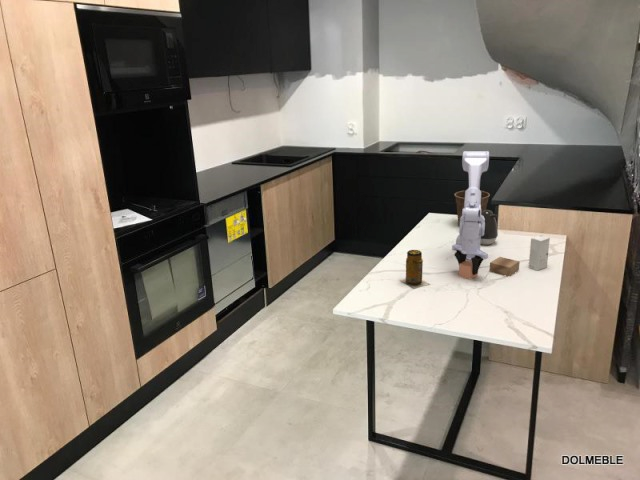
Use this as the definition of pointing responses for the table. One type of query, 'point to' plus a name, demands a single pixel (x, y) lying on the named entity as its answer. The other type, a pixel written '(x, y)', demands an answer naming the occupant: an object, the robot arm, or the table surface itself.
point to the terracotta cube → (466, 269)
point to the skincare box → (539, 252)
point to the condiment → (414, 269)
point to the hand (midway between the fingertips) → (468, 272)
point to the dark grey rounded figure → (489, 228)
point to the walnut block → (504, 266)
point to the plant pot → (461, 199)
